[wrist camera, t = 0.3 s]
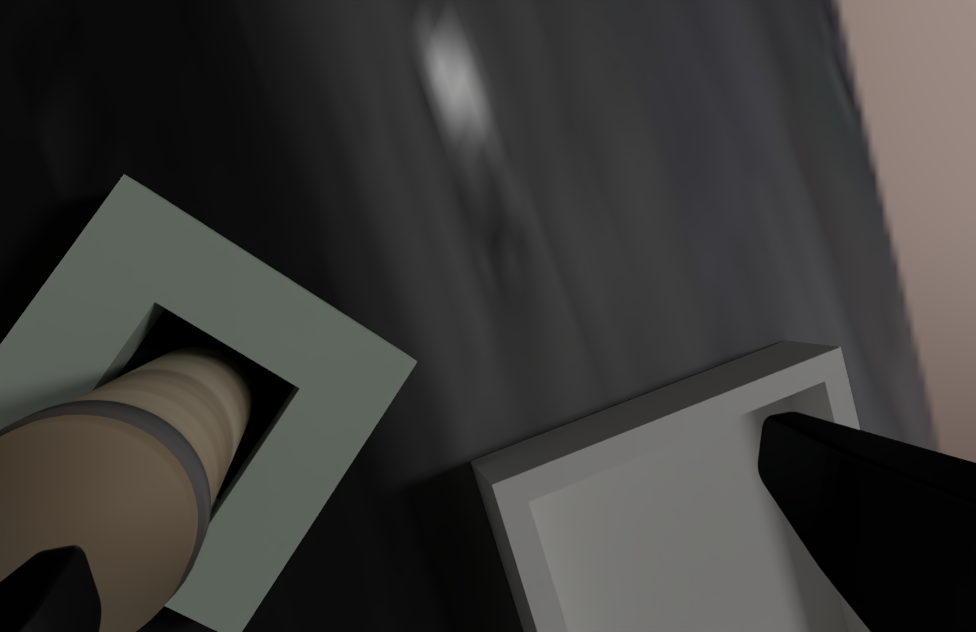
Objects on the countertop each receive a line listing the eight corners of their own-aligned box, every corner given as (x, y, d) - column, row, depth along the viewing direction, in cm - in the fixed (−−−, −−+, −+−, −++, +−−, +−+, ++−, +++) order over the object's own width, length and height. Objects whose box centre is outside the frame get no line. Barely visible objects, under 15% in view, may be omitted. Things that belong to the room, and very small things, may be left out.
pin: (214, 479, 22) (106, 705, 10) (107, 420, 22) (-148, 595, 10) (279, 382, 23) (247, 493, 11) (176, 320, 22) (16, 367, 10)
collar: (243, 602, 23) (236, 640, 20) (-50, 456, 20) (-98, 479, 18) (406, 353, 24) (417, 361, 22) (144, 186, 22) (124, 174, 19)
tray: (859, 642, 30) (919, 681, 27) (573, 792, 26) (606, 855, 24) (785, 340, 28) (840, 347, 25) (470, 461, 25) (491, 484, 22)
